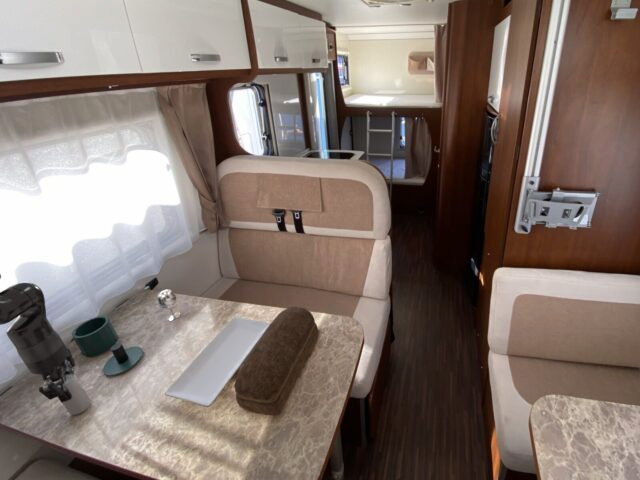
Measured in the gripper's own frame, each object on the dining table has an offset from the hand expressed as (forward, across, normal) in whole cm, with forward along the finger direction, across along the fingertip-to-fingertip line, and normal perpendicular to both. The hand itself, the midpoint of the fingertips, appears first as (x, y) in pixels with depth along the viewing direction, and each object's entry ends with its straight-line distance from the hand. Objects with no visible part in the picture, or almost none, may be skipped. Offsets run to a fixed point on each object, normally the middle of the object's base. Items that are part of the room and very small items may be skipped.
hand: (70, 391), depth 88 cm
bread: (+8, +19, +56) cm, 60 cm away
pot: (+8, -27, -1) cm, 28 cm away
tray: (+8, +6, +39) cm, 40 cm away
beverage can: (+8, 0, 0) cm, 8 cm away
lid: (+7, -13, +8) cm, 17 cm away
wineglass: (+8, -29, +22) cm, 37 cm away
